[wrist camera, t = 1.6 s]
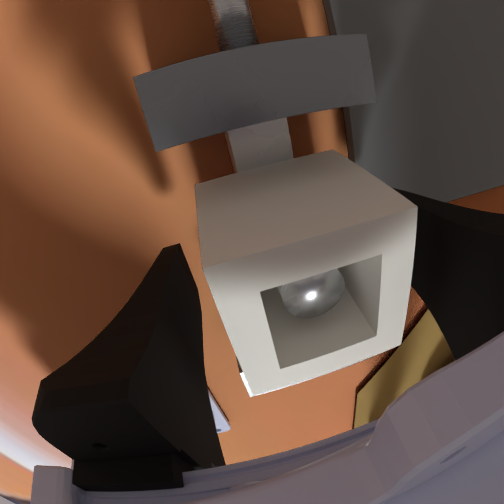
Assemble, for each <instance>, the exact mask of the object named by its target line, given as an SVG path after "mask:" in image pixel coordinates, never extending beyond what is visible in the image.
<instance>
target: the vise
mask: <svg viewBox="0 0 504 504" xmlns="http://www.w3.org/2000/svg"><path fill="white" fill-rule="evenodd" d="M208 3H209V7H210V11H211V15H212V19H213V23H214V27H215V31H216V35H217V39H218V43H219V47H220V51H221V52H218V53H214V54H209V55H205V56H201V57H198V58H194V59H190V60H186V61H183V62H179V63H176V64H172V65H169V66H166V67H163V68H159V69H156V70H153V71H150V72H147V73H144V74H141V75H138V76H135V77H133V79H134V82H135V86H136V89H137V93H138V96H139V99H140V103H141V106H142V109H143V113H144V116H145V119H146V123H147V126H148V129H149V132H150V135H151V138H152V142H153V145H154V148H155V151H156V152H158V151H161V150H164V149H167V148H170V147H174V146H177V145H180V144H183V143H187V142H190V141H193V140H197V139H200V138H204V137H207V136H211V135H215V134H218V133H222V132H224V135H225V139H226V143H227V147H228V151H229V155H230V159H231V163H232V167H233V170H234V173H238V172H241V171H245V170H249V169H253V168H257V167H261V166H264V165H268V164H272V163H277V162H281V161H285V160H289V159H293V158H294V156H293V151H292V145H291V139H290V134H289V128H288V123H287V118H286V117H291V116H296V115H301V114H306V113H311V112H317V111H322V110H328V109H334V108H341V107H347V106H354V105H361V104H369V103H376V94H375V86H374V78H373V71H372V64H371V58H370V52H369V46H368V40H367V35H366V34H347V35H330V36H318V37H308V38H299V39H291V40H283V41H276V42H270V43H263V44H259V42H258V38H257V34H256V30H255V25H254V21H253V17H252V13H251V9H250V5H249V1H248V0H208ZM277 288H278V291H279V293H280V296H281V298H282V300H283V303H284V305H285V308H286V309H287V311H288V312H289V313H290V314H292V315H294V316H296V317H299V318H312V317H317V316H320V315H322V314H324V313H326V312H328V311H329V310H330V309H332V308H333V307H334V306H335V305H336V304H337V303H338V302H339V300H340V299H341V297H342V295H343V293H344V289H345V281H344V278H343V276H342V275H341V273H340V272H339V270H338V269H333V270H330V271H327V272H324V273H321V274H317V275H314V276H311V277H308V278H304V279H301V280H298V281H294V282H291V283H288V284H284V285H281V286H278V287H277ZM372 357H374V356H372ZM236 358H237V356H236ZM370 358H371V357H370ZM367 359H369V358H367ZM365 360H366V359H365ZM362 361H363V360H362ZM360 362H361V361H360ZM237 363H238V368H239V372H240V375H241V377H242V380H243V382H244V384H245V386H246V389H247V391H248V393H249V395H250V397H252V396H253V394H252V392H251V389H250V387H249V385H248V382H247V380H246V378H245V375H244V373H243V371H242V368H241V366H240V363H239V361H238V359H237ZM357 363H358V362H357ZM354 364H356V363H354ZM352 365H353V364H352ZM349 366H350V365H349ZM346 367H348V366H346ZM343 368H345V367H343ZM341 369H342V368H341ZM338 370H339V369H338ZM335 371H336V370H335ZM332 372H334V371H332ZM329 373H331V372H329ZM326 374H328V373H326ZM324 375H325V374H324ZM321 376H322V375H321ZM318 377H319V376H318ZM315 378H316V377H315ZM312 379H313V378H312ZM308 380H310V379H308ZM305 381H307V380H305ZM302 382H304V381H302ZM299 383H301V382H299ZM296 384H297V383H296ZM293 385H294V384H293ZM289 386H291V385H289ZM286 387H288V386H286ZM283 388H284V387H283ZM279 389H281V388H279ZM276 390H278V389H276ZM272 391H274V390H272ZM269 392H271V391H269ZM265 393H267V392H265ZM262 394H263V393H262ZM258 395H260V394H258ZM254 396H256V395H254Z"/></svg>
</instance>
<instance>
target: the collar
mask: <svg viewBox="0 0 504 504" xmlns="http://www.w3.org/2000/svg"><path fill="white" fill-rule="evenodd" d="M195 196H196V208H197V220H198V231H199V241H200V251H201V261H202V269H203V272H204V275H205V277H206V280H207V283H208V285H209V288H210V290H211V293H212V296H213V298H214V301H215V303H216V306H217V309H218V311H219V314H220V316H221V319H222V321H223V324H224V326H225V329H226V331H227V334H228V336H229V339H230V341H231V344H232V346H233V349H234V351H235V354H236V356H237V359H238V361H239V363H240V366H241V368H242V371H243V373H244V375H245V378H246V380H247V382H248V385H249V387H250V389H251V392H252V394H253V396H254V395H258V394H262V393H265V392H269V391H272V390H276V389H279V388H283V387H286V386H289V385H293V384H296V383H299V382H302V381H305V380H308V379H312V378H315V377H318V376H321V375H324V374H326V373H329V372H332V371H335V370H338V369H341V368H343V367H346V366H349V365H352V364H354V363H357V362H360V361H362V360H365V359H367V358H370V357H372V356H375V355H377V354H380V353H382V352H385V351H387V350H390V349H392V348H394V347H397V346H399V345H401V342H402V337H403V331H404V326H405V320H406V314H407V308H408V301H409V294H410V287H411V279H412V271H413V262H414V252H415V241H416V228H417V211H418V207H417V206H416V205H415V204H413V203H412V202H411V201H409V200H408V199H407V198H405V197H404V196H402V195H401V194H400V193H398V192H397V191H395V190H394V189H393V188H391V187H390V186H388V185H387V184H385V183H384V182H383V181H381V180H380V179H378V178H377V177H375V176H374V175H372V174H371V173H369V172H368V171H366V170H365V169H363V168H362V167H360V166H359V165H357V164H355V163H354V162H352V161H351V160H349V159H348V158H346V157H344V156H343V155H341V154H340V153H338V152H336V151H335V150H329V151H324V152H320V153H315V154H311V155H306V156H302V157H297V158H293V159H289V160H285V161H281V162H277V163H272V164H268V165H264V166H261V167H257V168H253V169H249V170H245V171H241V172H238V173H234V174H230V175H227V176H223V177H220V178H216V179H212V180H209V181H206V182H202V183H199V184H195ZM333 269H338V270H339V272H340V273H341V275H342V276H343V278H344V281H345V289H344V293H343V295H342V297H341V299H340V300H339V302H338V303H337V304H336V305H335V306H334V307H333V308H332V309H330V310H329V311H328V312H326V313H324V314H322V315H320V316H317V317H312V318H299V317H296V316H294V315H292V314H290V313H289V312H288V311H287V309H286V308H285V305H284V303H283V300H282V298H281V296H280V293H279V291H278V288H277V287H278V286H281V285H284V284H288V283H291V282H294V281H298V280H301V279H304V278H308V277H311V276H314V275H317V274H321V273H324V272H327V271H330V270H333Z"/></svg>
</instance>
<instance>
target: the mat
mask: <svg viewBox="0 0 504 504" xmlns="http://www.w3.org/2000/svg"><path fill="white" fill-rule="evenodd" d="M323 3H324V8H325V12H326V17H327V21H328V26H329V31H330V35H347V34H366V35H367V40H368V46H369V52H370V58H371V64H372V71H373V78H374V86H375V94H376V103H369V104H361V105H354V106H347V107H343V113H344V121H345V129H346V137H347V146H348V155H349V160H351V161H352V162H354V163H355V164H357V165H359V166H360V167H362V168H363V169H365V170H366V171H368V172H369V173H371V174H372V175H374V176H375V177H377V178H378V179H380V180H381V181H383V182H384V183H385V184H387V185H388V186H390V187H391V188H396V189H400V190H404V191H408V192H411V193H415V194H418V195H422V196H425V197H428V198H432V199H435V200H439V201H442V202H449V201H452V200H456V199H459V198H462V197H466V196H469V195H472V194H476V193H479V192H482V191H486V190H489V189H492V188H496V187H499V186H502V185H504V0H323Z"/></svg>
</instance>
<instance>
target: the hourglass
mask: <svg viewBox="0 0 504 504" xmlns="http://www.w3.org/2000/svg"><path fill="white" fill-rule="evenodd" d="M454 361H455V358H454V356H453V354H452V352H451V350H450V347H449V345H448V343H447V341H446V339H445V337H444V335H443V333H442V332H441V330H440V328H439V326H438V324H437V322H436V321H435V319H434V317H433V316H432V314H431V312H430V311H429V309H428V310H427V312H426V313H425V314H424V316H423V317H422V318H421V320H420V321H419V322H418V324H417V325H416V326H415V327H414V329H413V330H412V331H411V333H410V334H409V335H408V336H407V338H406V339H405V340H404V341H403V343H402V344H401V345H400V346H399V348H398V349H397V350H396V351H395V352H394V354H393V355H392V356H391V357H390V358H389V359H388V361H387V362H386V363H385V364H384V365H383V366H382V368H381V369H380V370H379V371H378V372H377V373H376V374H375V375H374V377H373V378H372V379H371V380H370V381H369V382H368V383H367V384H366V385H365V386H364V388H363V389H362V390H361V391H360V392H359V393H358V394H357V404H356V414H355V423H354V428H357V427H360V426H362V425H365V424H367V423H370V422H372V421H374V420H377V419H379V418H380V417H381V416H382V414H383V413H384V411H385V410H386V408H387V407H388V405H390V404H391V403H392V402H393V401H394V400H396V399H397V398H398V397H399V396H400V395H401V394H403V393H404V392H405V391H406V390H407V389H408V388H410V387H411V386H413V385H415V384H416V383H418V382H419V381H421V380H423V379H424V378H426V377H427V376H429V375H430V374H432V373H434V372H435V371H437V370H439V369H441V368H443V367H445V366H447V365H449V364H450V363H452V362H454Z"/></svg>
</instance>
